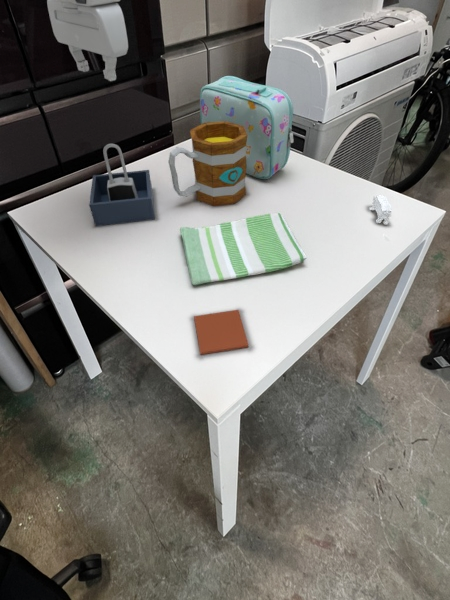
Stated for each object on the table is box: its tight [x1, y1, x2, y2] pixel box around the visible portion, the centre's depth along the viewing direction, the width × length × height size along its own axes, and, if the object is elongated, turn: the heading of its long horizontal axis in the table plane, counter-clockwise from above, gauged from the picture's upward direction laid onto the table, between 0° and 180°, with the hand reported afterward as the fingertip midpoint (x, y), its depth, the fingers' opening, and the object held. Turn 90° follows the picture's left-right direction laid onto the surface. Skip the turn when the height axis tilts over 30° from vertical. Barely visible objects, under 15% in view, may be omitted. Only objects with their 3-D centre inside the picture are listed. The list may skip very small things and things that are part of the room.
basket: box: [88, 169, 156, 227], centre depth 89 cm, size 14×14×6 cm
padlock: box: [102, 143, 138, 201], centre depth 85 cm, size 7×4×15 cm, turn 100°
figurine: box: [368, 195, 392, 226], centre depth 85 cm, size 2×8×5 cm, turn 1°
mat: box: [193, 309, 249, 356], centre depth 63 cm, size 8×8×1 cm
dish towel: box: [179, 212, 307, 286], centre depth 78 cm, size 18×23×3 cm
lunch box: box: [199, 75, 295, 180], centre depth 97 cm, size 27×10×21 cm, turn 48°
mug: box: [168, 121, 248, 207], centre depth 89 cm, size 20×14×15 cm
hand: (97, 75), depth 75 cm, fingers open, 8 cm apart
